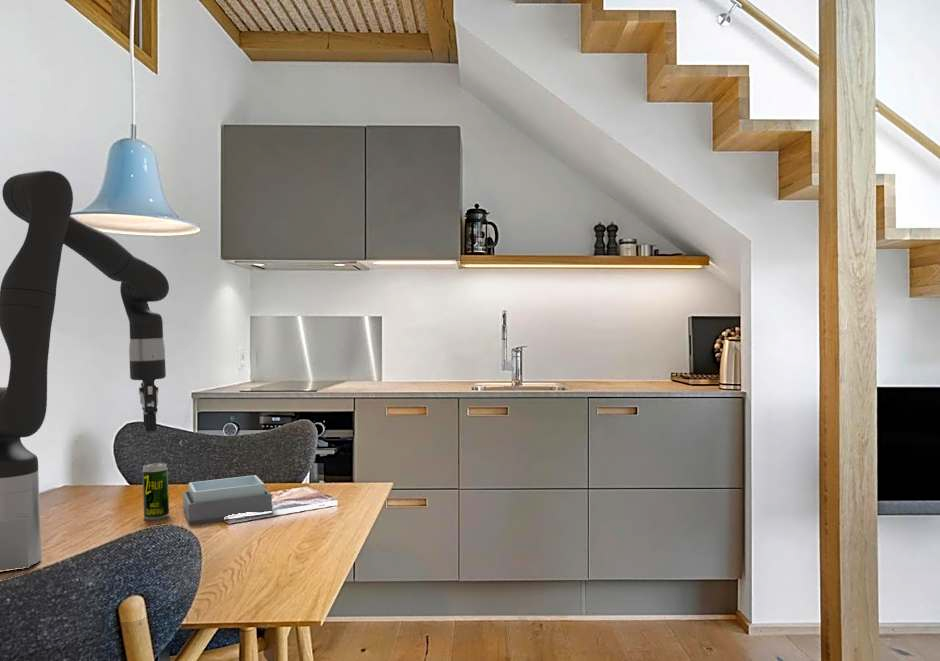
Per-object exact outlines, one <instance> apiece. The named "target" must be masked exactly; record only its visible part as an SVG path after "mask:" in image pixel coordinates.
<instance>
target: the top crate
mask: <svg viewBox="0 0 940 661" xmlns="http://www.w3.org/2000/svg"><path fill="white" fill-rule="evenodd" d="M265 488H266V487H265V483H264V482H263V481H262V479H260V478H259V477H258V476H257V475H256V474H254V475H245V476H237V477H236V476H235V477H226V478H220V479H218V478H217V479H210V480H209V479H208V480H200V481H191V482H188V491H189V500H190V503H191V504H193V503H201V502H209V501H217V500H225V499H233V498H241V497H249V496H257V495H265Z"/></svg>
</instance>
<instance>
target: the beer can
mask: <svg viewBox="0 0 940 661" xmlns="http://www.w3.org/2000/svg"><path fill="white" fill-rule="evenodd" d="M142 468H143V469H142V472H141V473H142V496H143V498H142V500H143V501H142V502H143V516H144V520H147V521H159V520H163V519H166V518H168V516H169V514H170V502H169V501H170V499H169V498H170V497H169V493H170V492H169V471H168V470H169V469H168V467H167V463H166V462H165V463H162V462H159V463H158V462H157V463H155V462H154V463H150V464H145V465H143V467H142Z"/></svg>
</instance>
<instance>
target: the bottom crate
mask: <svg viewBox="0 0 940 661" xmlns="http://www.w3.org/2000/svg"><path fill="white" fill-rule="evenodd" d="M272 497H273V495H272V493H271V492H270V491H269V490H268V488H266V487H265V495H257V496H249V497H241V498H233V499H225V500H217V501H209V502H201V503H193V504H191V503H190V500H189V490H187V491H182V507H183V508H182V509H183V514H184V516H185V518H186V521H187V524H188V525H189V526H193V525H199V524H205V523H206V524H207V523H213V522H219V521H220V522H221V521H225V520H224V517H225V516H228V515H232V514H238V513H246V512H264V511H272V512H273V500H272V499H273V498H272Z"/></svg>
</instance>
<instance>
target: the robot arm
mask: <svg viewBox="0 0 940 661" xmlns="http://www.w3.org/2000/svg"><path fill="white" fill-rule="evenodd" d="M72 188H73V187H72V185H71V183H70V181H69V179H68V178H67V177H66V176H65V175H64V174H63V173H61V172H59V171H57V170H39V171H31V172H23V173H19V174H16V175H12V176H11V177H9V178H8V179H7V180H6V182H5V183H4V184H3V187H2V191H1V193H2V199H3V202H4V204H5V206H6V207H7V209H8V210H9V212H10V213H12V214H13V215H14V216H16V217H18V218H19V219H20V220H22V221H23V222H25V223H27V224H28V228H27V232H26V237H25V238H24V241H23V244H22V245H21V247H20V249H19V251H18V252H17V253H16V254H15V256H14V259H13V260H12V261H11V263H10V265H9V266H8V268H7V270H6V271H5V274H4V275H3V278H2V280H1V284H0V331H1V334H2V336H3V340H4V341H5V344H6V346H7V349H8V354H9V360H10V364H9V365H10V366H9V376H8V383H7V386H5V387H3V386H2V387H0V570H6V569H15V568H23V567H26V568H28V567H30V566H31V565H33V564H36V563H38V562H39V561H40V562H42V560H41V559H43V558H42V538H41V537H42V536H41V535H42V534H41V512H40V511H41V510H40V488H39V487H40V481H39V479H40V478H39V460H38V456H37V454H34V453H33V452H31V451H30V450H28V449H27V448H26V447H25V445H24V444H23V443H22V439H21V438H27V437H31V436H33V435H35V434H36V433H37V432H39V430H40V429H41V427H42V426H43V423H44V421H45V418H46V415H47V414H46V413H47V407H48V406H47V405H48V362H49V354H50V353H49V352H50V345H51V344H50V341H51V332H52V326H53V325H52V322H53V319H54V313H55V305H56V298H57V285H58V279H59V278H58V277H59V271H60V265H61V260H62V252H63V248H64V246H66V247H68V248H69V249H71V250H72V251H74V253H77V254H78V255H80V256H81V257H82V258H84V259H85V260H86V261H88V262H89V264H91V265H92V266H94V267H95V269H97V270H99V271H100V272H101V273H102V274H103V275H104V276H106V277H107V278H109V279H110V280H112V281H115V282H120V287H119V288H120V296H121V300H122V303H123V307H124V310H125V312H126V315H127V318H128V321H129V323H128V324H129V348H128V352H129V353H128V355H129V358H128V359H129V379H131V380H132V381H142V382H140V387H138V394H139V395H138V396H139V399H140V402H139V403H140V405H141V410H142V411H143V416H142V417H143V426H144V428H145V431H146V432H147V433H149V432H156V431H157V413H158V408H157V407H158V406H159V397H158V396H159V387H158V386H157V385H156V384H155V382H156V380H162V379H165V378H166V377H167V374H166V372H167V370H166V351H165V341H164V324H163V323H164V322H163V318H162V315H161V314H160V313H157V312H154V311H151V309H150V307H149V306H150V305H149V304H148V303H150V302H151V303H152V302H160V301H162V300H164V299H165V298H166V297H167V296H168V294H169V292H170V291H169V290H170V283H169V281H168V279H167V277H166V276H165V275H164V273H163V272H162V271H161V270H159V269H157V267H155V266H153V265H151V264H149V263H148V262H147V261H144V260H142V259H140V258H138V257H136V256H134V255H133V254H131V252H130V251H129V250H127V249H126V248H125V247H124V246H123V245H122V244H121V243H119V241H117V240H116V239H115V238H113V237H112V236H110V235H108V234H107V233H105V232H103V231H101V230H99V229H97V228H95V227H93V226H91V225H89V224H87V223H84V222H83V221H80V220H78V219H77V218H75V217H74V216H73V215H71V214H72V208H73V204H74V203H73V202H74V193H73V189H72ZM40 562H39V563H40ZM39 563H38V564H39ZM36 565H37V564H36ZM33 566H34V565H33ZM31 567H32V566H31Z"/></svg>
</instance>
